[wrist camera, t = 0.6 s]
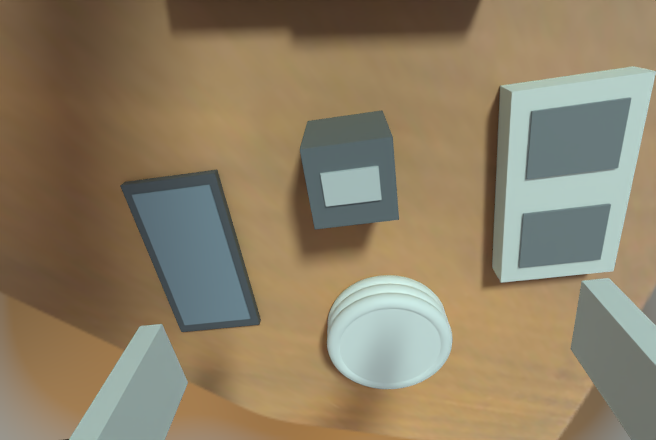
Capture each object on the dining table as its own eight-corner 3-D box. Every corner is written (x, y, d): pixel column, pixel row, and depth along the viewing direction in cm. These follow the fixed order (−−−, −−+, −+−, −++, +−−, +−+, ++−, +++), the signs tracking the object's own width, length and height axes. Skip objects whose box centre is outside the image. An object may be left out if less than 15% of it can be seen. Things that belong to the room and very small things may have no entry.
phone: (127, 179, 30) (119, 186, 29) (219, 166, 30) (214, 173, 28) (185, 322, 37) (181, 332, 36) (261, 314, 36) (259, 325, 35)
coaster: (465, 294, 34) (478, 324, 31) (411, 372, 38) (417, 405, 35) (355, 256, 32) (356, 282, 29) (311, 341, 37) (308, 372, 34)
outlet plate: (500, 85, 26) (513, 92, 24) (633, 66, 25) (658, 71, 23) (492, 267, 32) (501, 284, 30) (598, 256, 32) (615, 272, 30)
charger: (307, 121, 27) (299, 150, 22) (382, 110, 27) (392, 137, 21) (319, 188, 30) (314, 230, 24) (388, 180, 29) (399, 221, 24)
